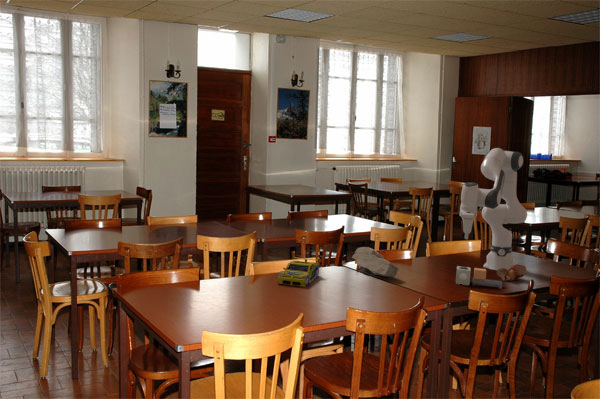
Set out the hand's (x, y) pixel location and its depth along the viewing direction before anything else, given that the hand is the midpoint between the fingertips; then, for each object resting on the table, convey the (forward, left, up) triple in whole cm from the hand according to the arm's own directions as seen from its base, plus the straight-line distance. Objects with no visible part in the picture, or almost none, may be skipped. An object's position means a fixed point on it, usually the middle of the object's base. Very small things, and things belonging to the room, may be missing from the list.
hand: (466, 238), depth 312 cm
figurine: (-19, +26, -24) cm, 40 cm away
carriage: (0, +8, -23) cm, 24 cm away
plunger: (0, 0, -21) cm, 21 cm away
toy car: (+31, -83, -25) cm, 92 cm away
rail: (0, +12, -24) cm, 27 cm away
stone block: (0, -49, -24) cm, 54 cm away
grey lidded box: (0, 0, -24) cm, 24 cm away
